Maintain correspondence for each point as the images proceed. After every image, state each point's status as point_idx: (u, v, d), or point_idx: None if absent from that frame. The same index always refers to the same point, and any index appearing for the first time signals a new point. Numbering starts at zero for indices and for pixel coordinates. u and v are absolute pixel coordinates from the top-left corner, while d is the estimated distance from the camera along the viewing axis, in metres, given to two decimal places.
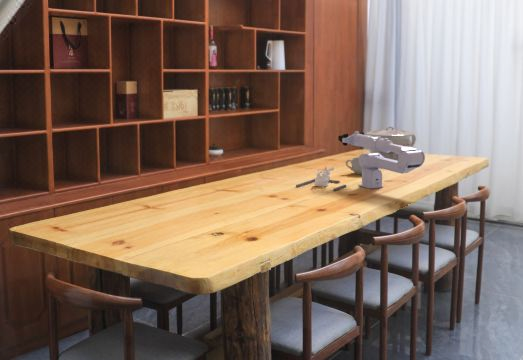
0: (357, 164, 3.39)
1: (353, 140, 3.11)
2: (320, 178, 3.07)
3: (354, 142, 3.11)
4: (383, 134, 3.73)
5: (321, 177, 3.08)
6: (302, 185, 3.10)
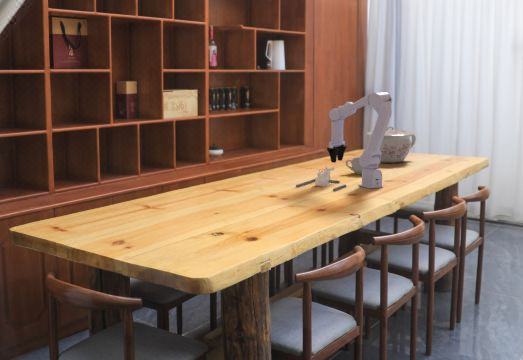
0: (357, 164, 3.39)
1: (334, 141, 3.16)
2: (321, 178, 3.08)
3: (336, 140, 3.15)
4: None
5: (322, 177, 3.08)
6: (302, 185, 3.10)
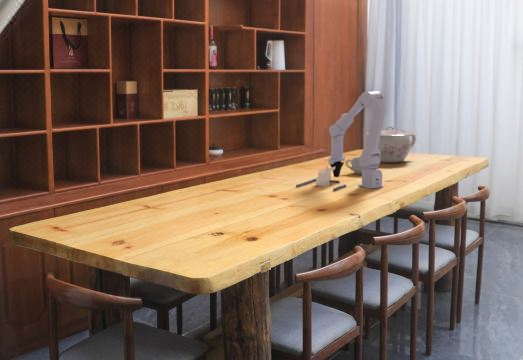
0: (357, 164, 3.39)
1: (334, 157, 3.17)
2: (321, 178, 3.09)
3: (336, 155, 3.17)
4: (383, 134, 3.73)
5: (322, 177, 3.09)
6: (302, 185, 3.10)
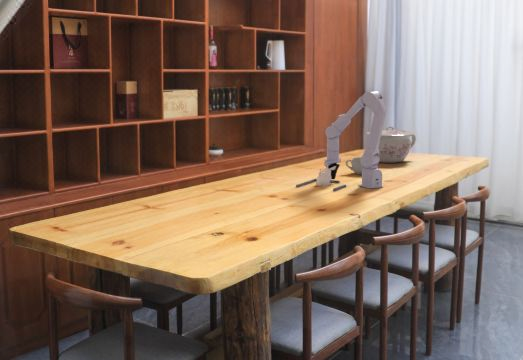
0: (357, 164, 3.39)
1: (330, 158, 3.13)
2: (322, 177, 3.10)
3: (332, 157, 3.13)
4: (383, 134, 3.73)
5: (323, 176, 3.10)
6: (302, 185, 3.10)
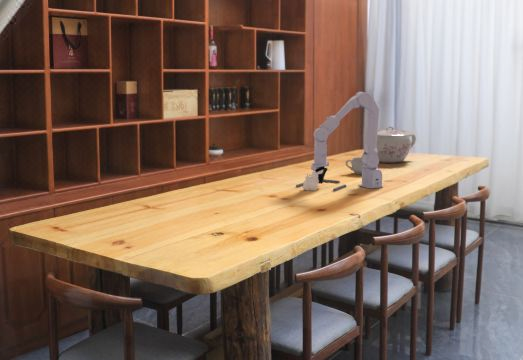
0: (357, 164, 3.39)
1: (317, 162, 3.02)
2: (309, 181, 2.98)
3: (319, 161, 3.02)
4: (383, 134, 3.73)
5: (310, 180, 2.98)
6: (302, 185, 3.10)
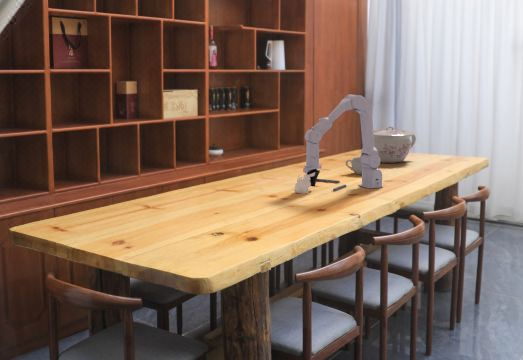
0: (357, 164, 3.39)
1: (309, 164, 2.95)
2: (300, 184, 2.91)
3: (311, 163, 2.95)
4: (383, 134, 3.73)
5: (301, 183, 2.92)
6: None
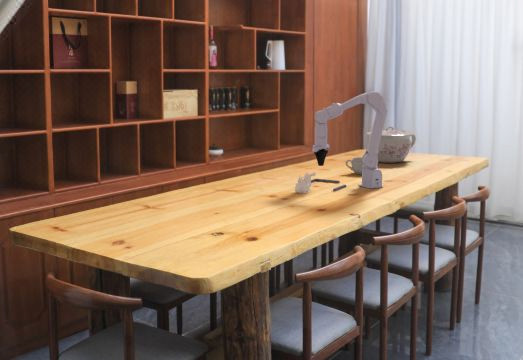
0: (357, 164, 3.39)
1: (318, 144, 3.03)
2: (301, 184, 2.92)
3: (320, 143, 3.03)
4: (383, 134, 3.73)
5: (302, 183, 2.93)
6: None
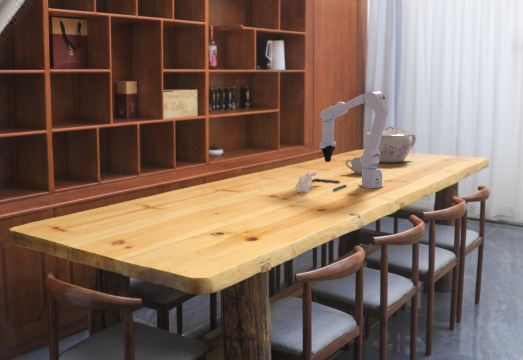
0: (357, 164, 3.39)
1: (325, 141, 3.15)
2: (302, 184, 2.93)
3: (327, 140, 3.15)
4: (383, 134, 3.73)
5: (303, 183, 2.94)
6: None
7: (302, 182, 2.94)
